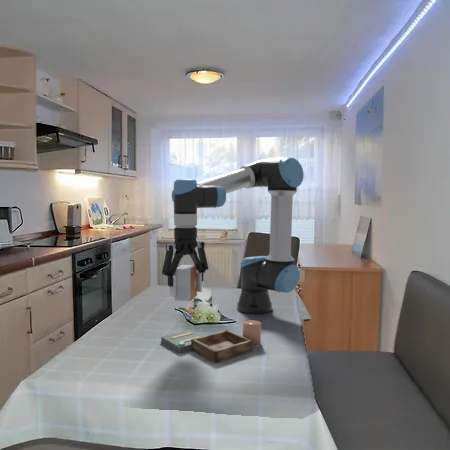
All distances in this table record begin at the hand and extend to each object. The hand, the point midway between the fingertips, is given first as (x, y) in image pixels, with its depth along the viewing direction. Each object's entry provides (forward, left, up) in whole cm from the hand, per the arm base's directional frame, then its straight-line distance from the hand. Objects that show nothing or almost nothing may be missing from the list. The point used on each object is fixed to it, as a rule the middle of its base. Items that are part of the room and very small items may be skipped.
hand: (186, 293), depth 136 cm
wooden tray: (-6, +12, -17) cm, 22 cm away
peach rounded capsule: (-18, +13, -17) cm, 28 cm away
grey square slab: (0, 0, -17) cm, 17 cm away
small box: (0, 0, -2) cm, 2 cm away
